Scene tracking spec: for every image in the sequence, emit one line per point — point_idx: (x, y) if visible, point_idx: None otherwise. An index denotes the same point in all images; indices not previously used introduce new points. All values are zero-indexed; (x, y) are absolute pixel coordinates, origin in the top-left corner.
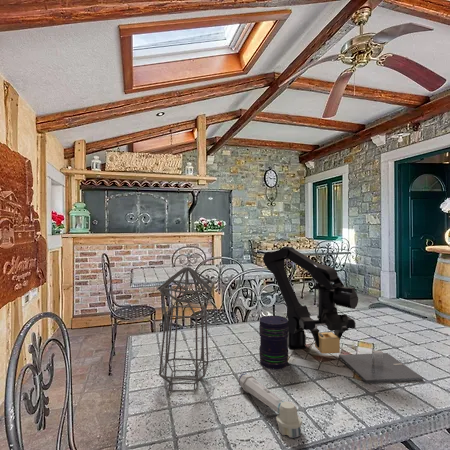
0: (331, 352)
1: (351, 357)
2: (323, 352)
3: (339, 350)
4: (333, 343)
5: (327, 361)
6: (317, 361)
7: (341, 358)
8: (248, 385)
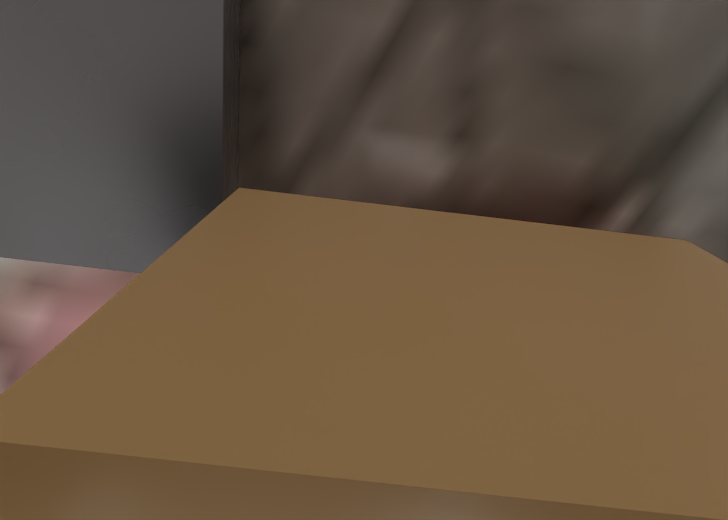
0: (449, 220)
1: (20, 129)
2: (664, 244)
3: (227, 205)
4: (414, 320)
5: (508, 176)
6: (678, 212)
7: (228, 171)
8: None
